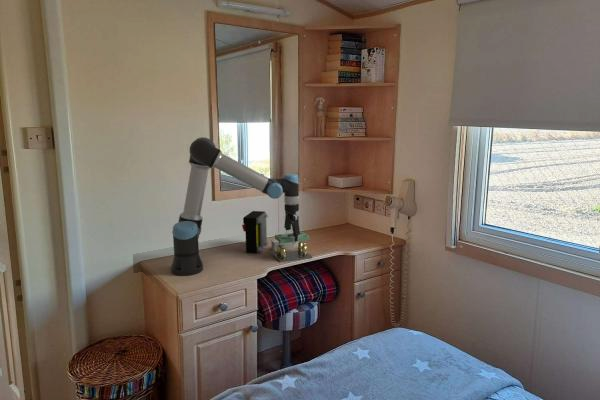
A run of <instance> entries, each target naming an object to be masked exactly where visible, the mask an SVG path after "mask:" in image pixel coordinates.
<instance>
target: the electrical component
mask: <svg viewBox="0 0 600 400" xmlns="http://www.w3.org/2000/svg"><path fill="white" fill-rule="evenodd" d="M268 216H269V214H268V213H267V212H266V211H263V210H261V211H260V210H252V211H250V212H249V213H248V214H246V215H245V216H244V217H243V218H242V220H243V221H242V225H241V227H242V230H243V232H245V253H246V254H253V255H254V254H255V255H257V254H259V253H260V252H262V250H263V249H264V248H265V247H266V245H269V240H268V239H267V238H268V237H267V236H268V235H267V233H268V232H267V230H268V229H267V218H269V217H268Z"/></svg>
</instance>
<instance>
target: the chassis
mask: <svg viewBox="0 0 600 400" xmlns="http://www.w3.org/2000/svg"><path fill="white" fill-rule="evenodd" d="M272 256H273V257H274V258H275V259H276V261H278V262H279V263H286V262H292V261H293V262H294V261H301V260H302V261H303V260H309V259H313V256H312V255H311V254H310V253H308V245H307V244H306V241H303V242H302V241H299V242H298V247H297V250H289V251H288V250H286V248H284V245H281V243H280V242H279V245H277V251H276V252H272Z"/></svg>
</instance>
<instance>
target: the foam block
mask: <svg viewBox="0 0 600 400" xmlns="http://www.w3.org/2000/svg"><path fill="white" fill-rule="evenodd" d="M277 245H279V242H278V241H277V240H276V239H272V240H271V250H272V251H273V252H277ZM281 245H284V248H286V251H288V250H289V251H291V250H295V247H294V248H293V242H290V243H281Z"/></svg>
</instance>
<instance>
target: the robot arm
mask: <svg viewBox="0 0 600 400" xmlns="http://www.w3.org/2000/svg"><path fill="white" fill-rule="evenodd" d="M188 150H189V160H188V163H189V165H190V173H189V178H188V184H187V189H186V193H185V194H186V195H185V199H184V206H183V211H182V212H181V213H180V214H179V216H178V222H176V223H175V224H173V226H172V239H173V240H172V241H173V254H174V255H173V260H172V263H171V268H170V269H171V273H172V274H173V275H175V276H183V277H184V276H193V275H196V274H199V273H201V272H203V270H204V264H203V261H202V259H201V258H202V257H201V256H200V253H199V252H200V251H199V250H200V249H199V238H200V235H201V232H202V223H203V216H202V215H201V213H202V208H203V201H204V197H205V191H206V186H207V181H208V180H207V179H208V174H209V170H210V169H216V170H218V171H221V172H223V173H225V174H227V175H228V176H231V177H232V178H234V179H236V180H238V181H240V182H242V183H244V184H246V185H248V186H250V187H252V188H254V189H255V190H258V191H259V192H261V193H263V194H265V195H267V196H268V197H270V198H271V199H273V200H274V199H276V200H277V199H279V198H281V196H282V195H283V193H284V196H283V197H284V199H283V202H284V211H285V213H284V214H285V216H284V226H283V227H284V229H285V234H289V233H293V235H292V236H293V248H294V249H295V248H298V243H299V242H298V235H300V232H301V230H300V223H299V222H300V220H299V217H300V216H299V215H297V212H299V210H300V205H299V203H300V195H299V194H300V189H299V188H300V187H299V186H300V182H299V175H298V174H296V173H287V174H284V175H283V176H284V177H282V178H270V177H268V176H265V175H263V174H262V173H260V172H258V171H256V170H254V169H252V168H251V167H248V166H247V165H245V164H243V163H241V162H240V161H237V160H235V159H233V158H231V157H230V156H228V155H226V154H224V153H223V151H222V150H221V149H219V148H218V147H216V145H215V143H214V141H213V140H212V139H210V138H208V137H202V136H201V137H197V138H196V139H195V140H194V141H192V142H191V144H190V146H189V149H188Z"/></svg>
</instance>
